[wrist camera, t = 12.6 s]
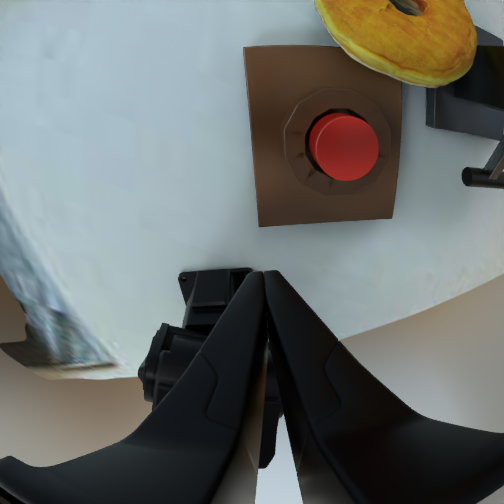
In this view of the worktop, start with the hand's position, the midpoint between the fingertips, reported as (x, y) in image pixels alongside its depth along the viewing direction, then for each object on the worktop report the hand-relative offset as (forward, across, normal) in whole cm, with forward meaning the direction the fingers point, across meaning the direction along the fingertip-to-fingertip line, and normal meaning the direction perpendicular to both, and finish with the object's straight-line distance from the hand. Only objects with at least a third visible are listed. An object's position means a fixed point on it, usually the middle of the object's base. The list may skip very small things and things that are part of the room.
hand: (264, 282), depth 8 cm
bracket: (+13, -18, -8) cm, 24 cm away
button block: (+13, -5, -2) cm, 14 cm away
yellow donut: (+8, -9, -12) cm, 17 cm away
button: (+9, -5, -2) cm, 11 cm away
